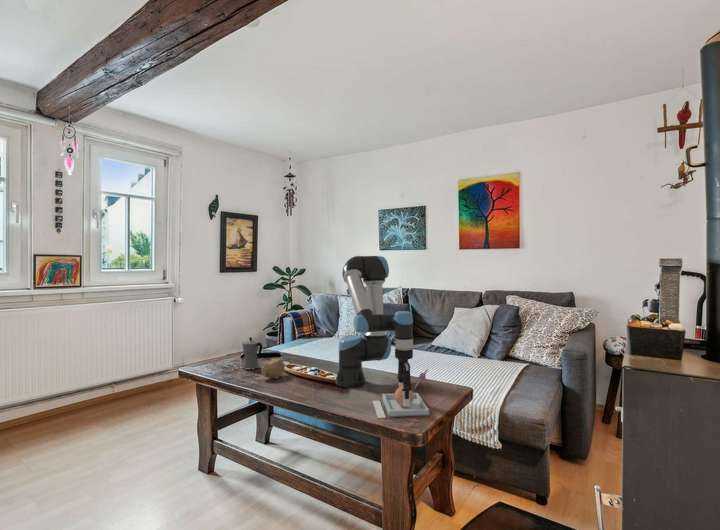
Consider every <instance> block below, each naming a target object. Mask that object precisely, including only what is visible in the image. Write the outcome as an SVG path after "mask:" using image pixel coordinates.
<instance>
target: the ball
mask: <svg viewBox="0 0 720 530" xmlns="http://www.w3.org/2000/svg"><path fill="white" fill-rule="evenodd" d="M407 388H408V387H407ZM402 389H404V387H403V386H402V387H399V386H398V388H396V390H395V392H394V394H395V400H396V402H397V403H398V404H399V405H401V406H403V391H402ZM413 393H414V392H413V390H412V389H411V391H410V404H411V403H412V402H413V399H414V394H413Z"/></svg>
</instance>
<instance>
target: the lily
mask: <svg viewBox="0 0 720 530" xmlns="http://www.w3.org/2000/svg"><path fill="white" fill-rule="evenodd" d="M428 370H429V369H428V367H427V368H426V369H425V371H424V372H420V374H419V376H418V377H417V378H418V380H417V382H416V384H415V386H414V389H413V391H414V390H416V388H417V386H418V385H419V384H422V383H427V384H428V386H429V388H430V389H432V387H431V385H430V383H428V381H427V378H426V376H427V375H426V374H427V372H428Z"/></svg>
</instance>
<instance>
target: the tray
mask: <svg viewBox="0 0 720 530" xmlns="http://www.w3.org/2000/svg"><path fill="white" fill-rule="evenodd" d="M413 394H414V399H413V402H412V403H411V404H410V407H403V406H401V405H399V404H398V403H397V402H396V400H395V393H382V394H381V400H382V402H383V405H384V407H385V410H386V412H387V415H388V417H391V418H393V417H396V418H397V417H423V416H425V417H426V416H430V408H428V406H427V405H426V403H425V402H424V400H423V399H422V397H421V396H420V394H419V393H418V392H413Z"/></svg>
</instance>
